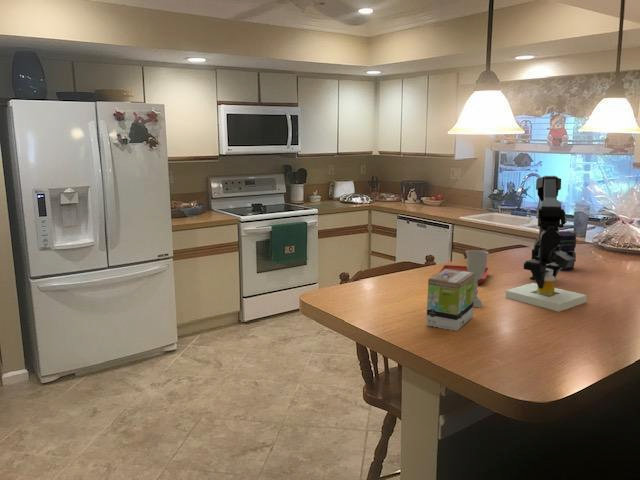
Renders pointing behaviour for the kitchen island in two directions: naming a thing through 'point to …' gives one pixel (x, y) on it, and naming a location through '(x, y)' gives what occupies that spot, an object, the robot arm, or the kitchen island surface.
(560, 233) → the storage jar
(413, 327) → the kitchen island surface
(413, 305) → the kitchen island surface
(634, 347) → the kitchen island surface
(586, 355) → the kitchen island surface
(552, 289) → the supplement bottle
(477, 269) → the chalice
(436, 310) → the tea box
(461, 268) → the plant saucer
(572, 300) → the socket board
